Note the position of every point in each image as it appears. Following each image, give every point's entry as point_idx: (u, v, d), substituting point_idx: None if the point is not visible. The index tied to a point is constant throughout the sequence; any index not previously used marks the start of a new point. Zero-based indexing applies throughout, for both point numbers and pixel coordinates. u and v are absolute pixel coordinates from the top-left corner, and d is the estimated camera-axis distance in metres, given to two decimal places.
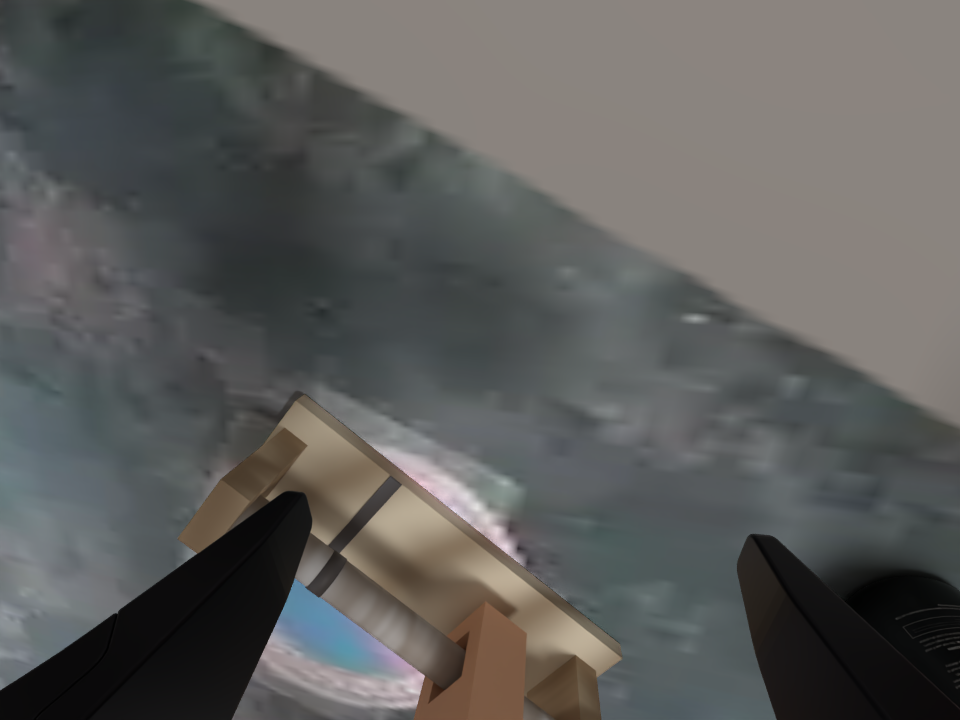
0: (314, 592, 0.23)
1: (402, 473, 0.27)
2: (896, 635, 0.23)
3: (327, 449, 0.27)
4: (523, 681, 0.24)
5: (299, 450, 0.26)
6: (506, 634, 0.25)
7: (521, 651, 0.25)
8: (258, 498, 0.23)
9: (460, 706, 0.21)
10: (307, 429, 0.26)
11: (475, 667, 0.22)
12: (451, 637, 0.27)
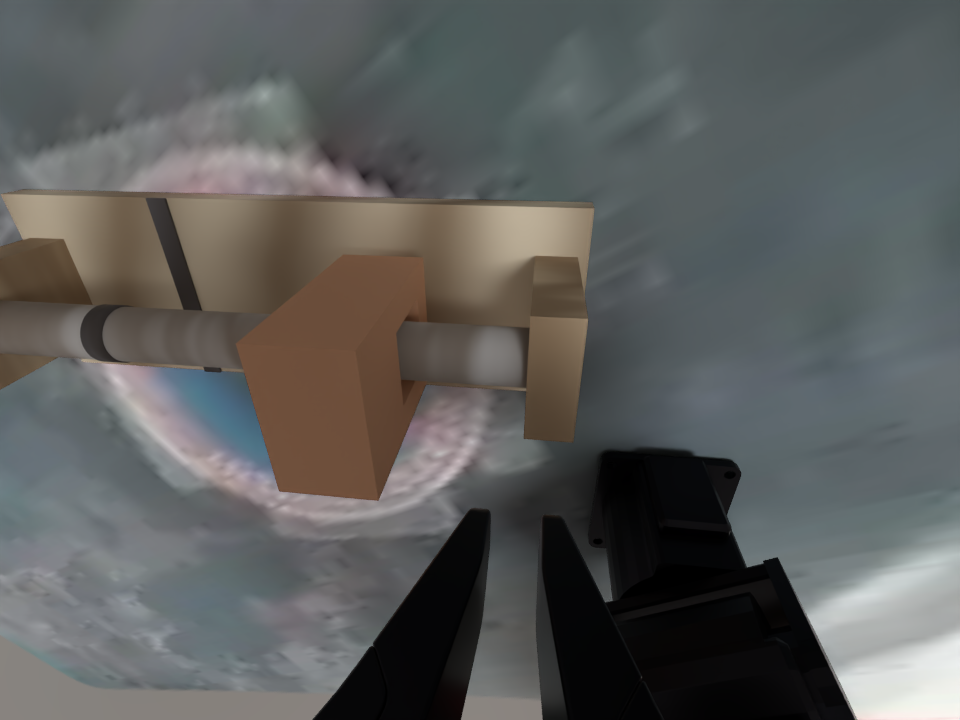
0: (101, 356, 0.17)
1: (174, 193, 0.20)
2: None
3: (78, 225, 0.20)
4: (398, 287, 0.15)
5: (45, 244, 0.20)
6: (376, 265, 0.16)
7: (404, 269, 0.16)
8: None
9: None
10: (43, 219, 0.20)
11: (291, 297, 0.14)
12: None
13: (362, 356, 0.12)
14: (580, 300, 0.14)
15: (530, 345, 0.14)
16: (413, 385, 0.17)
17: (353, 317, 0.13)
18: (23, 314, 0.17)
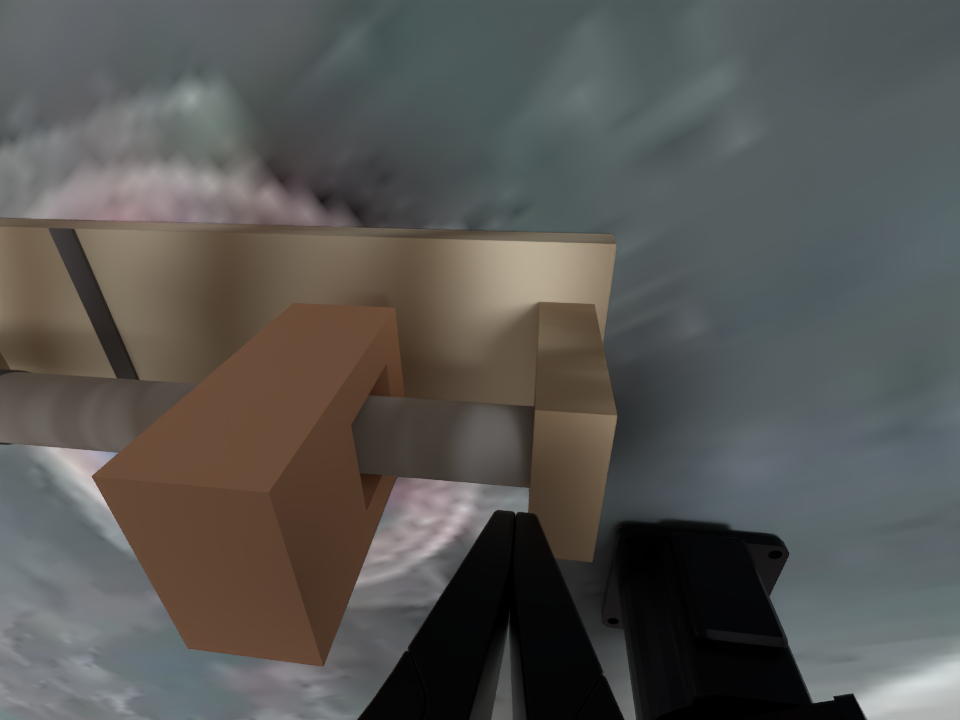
0: None
1: (88, 221, 0.16)
2: None
3: None
4: (355, 360, 0.11)
5: None
6: (332, 321, 0.13)
7: (368, 328, 0.12)
8: None
9: None
10: None
11: (204, 379, 0.10)
12: None
13: (284, 491, 0.08)
14: (603, 378, 0.10)
15: (535, 446, 0.10)
16: (382, 475, 0.13)
17: (281, 419, 0.09)
18: None
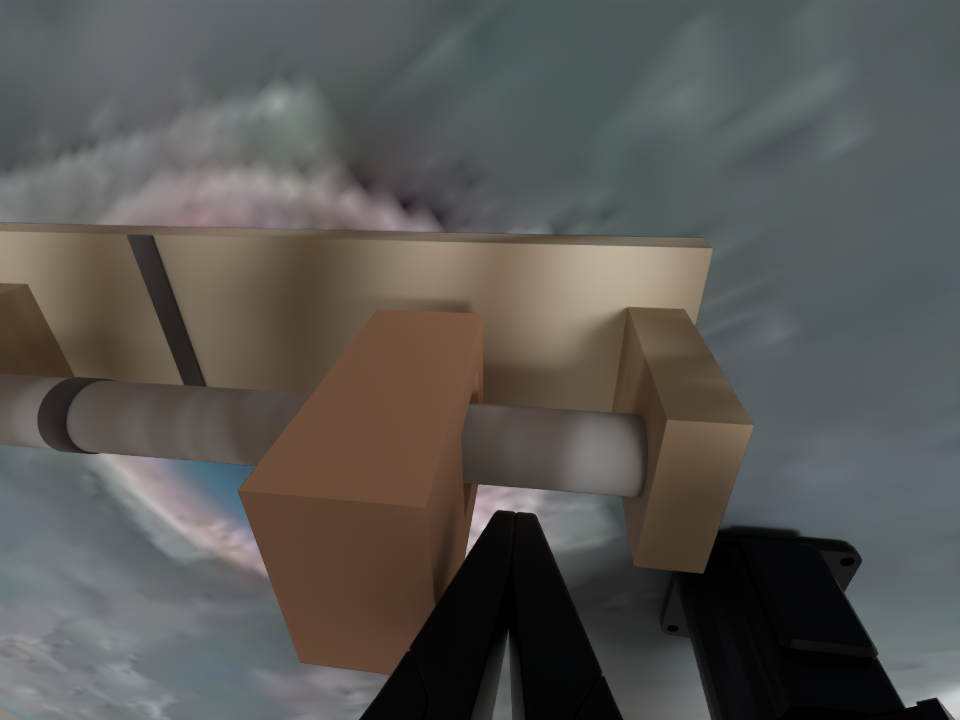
0: (67, 448, 0.13)
1: (163, 227, 0.16)
2: None
3: (44, 268, 0.16)
4: (462, 368, 0.11)
5: (2, 292, 0.16)
6: (423, 328, 0.12)
7: (463, 335, 0.12)
8: None
9: None
10: (1, 260, 0.16)
11: (316, 389, 0.10)
12: None
13: (431, 506, 0.08)
14: (724, 386, 0.10)
15: (661, 456, 0.10)
16: None
17: (409, 430, 0.09)
18: None
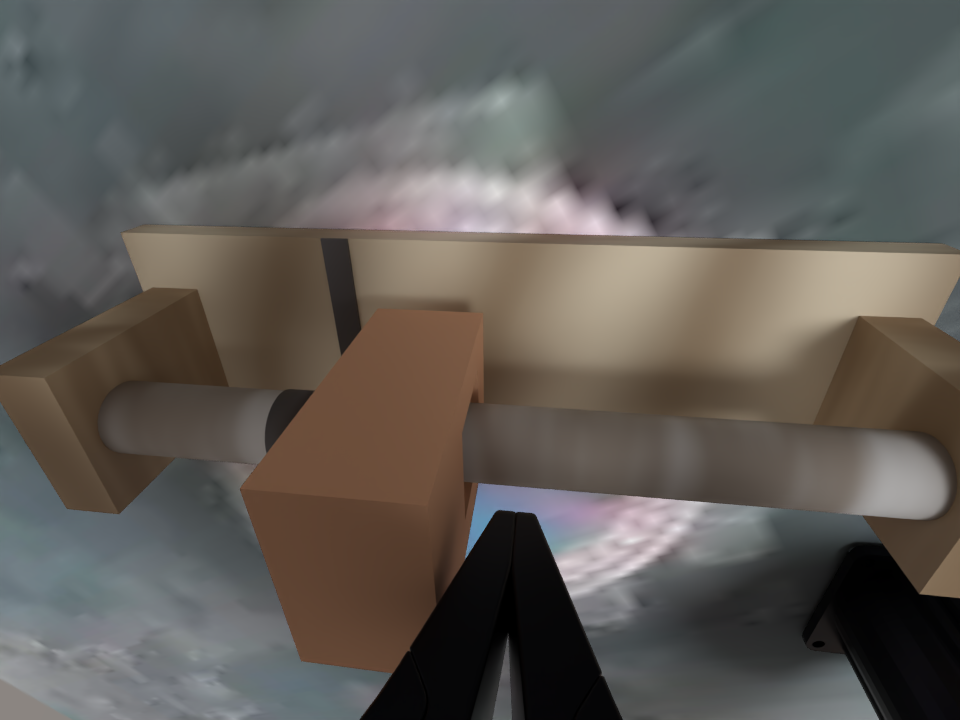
0: None
1: (348, 230, 0.15)
2: None
3: (219, 273, 0.15)
4: (463, 367, 0.11)
5: (178, 298, 0.15)
6: (424, 326, 0.12)
7: (464, 334, 0.12)
8: (122, 384, 0.13)
9: None
10: (173, 264, 0.15)
11: (317, 388, 0.10)
12: None
13: (433, 503, 0.08)
14: None
15: None
16: None
17: (411, 428, 0.09)
18: (179, 408, 0.12)
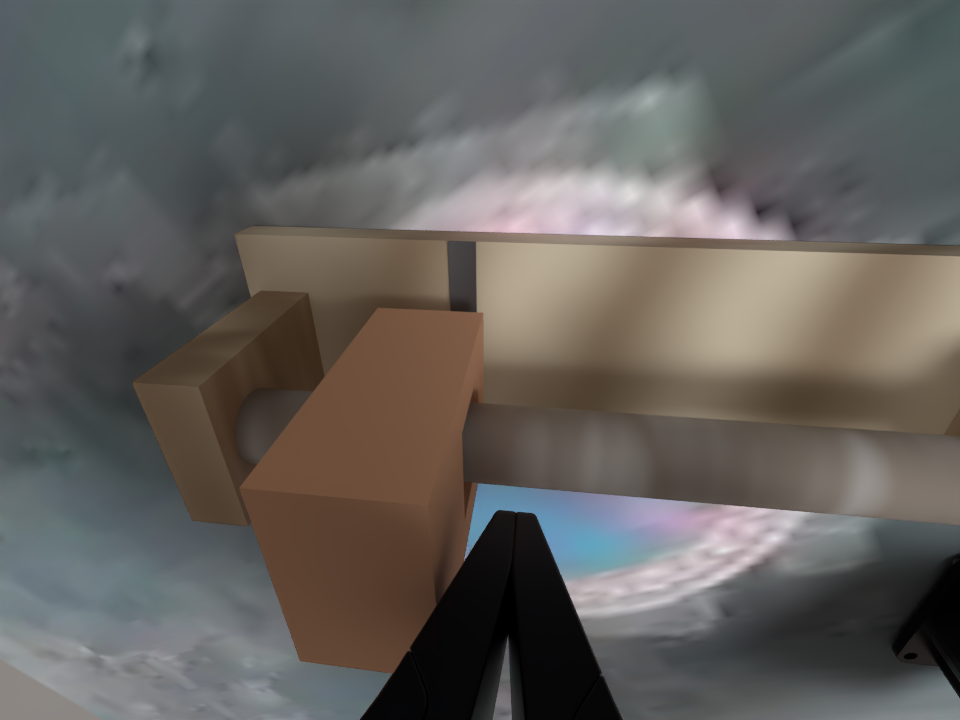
0: None
1: (470, 233, 0.14)
2: None
3: (334, 276, 0.15)
4: (463, 367, 0.11)
5: (293, 301, 0.14)
6: (424, 326, 0.12)
7: (464, 334, 0.12)
8: (254, 391, 0.12)
9: None
10: (286, 267, 0.15)
11: (317, 387, 0.10)
12: None
13: (434, 504, 0.08)
14: None
15: None
16: None
17: (411, 429, 0.09)
18: None
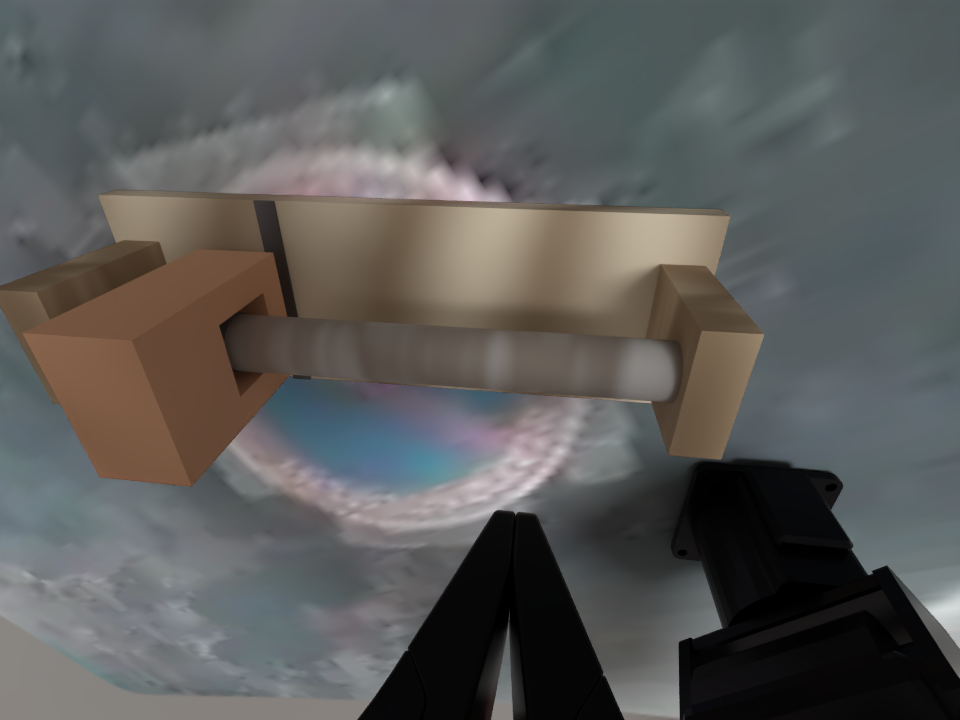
0: None
1: (278, 195, 0.19)
2: None
3: (176, 228, 0.19)
4: (224, 280, 0.15)
5: (143, 247, 0.19)
6: (220, 259, 0.17)
7: (245, 264, 0.17)
8: None
9: None
10: (140, 221, 0.19)
11: (113, 290, 0.14)
12: None
13: (148, 346, 0.12)
14: (741, 313, 0.14)
15: (695, 360, 0.13)
16: (260, 377, 0.17)
17: (156, 309, 0.13)
18: None
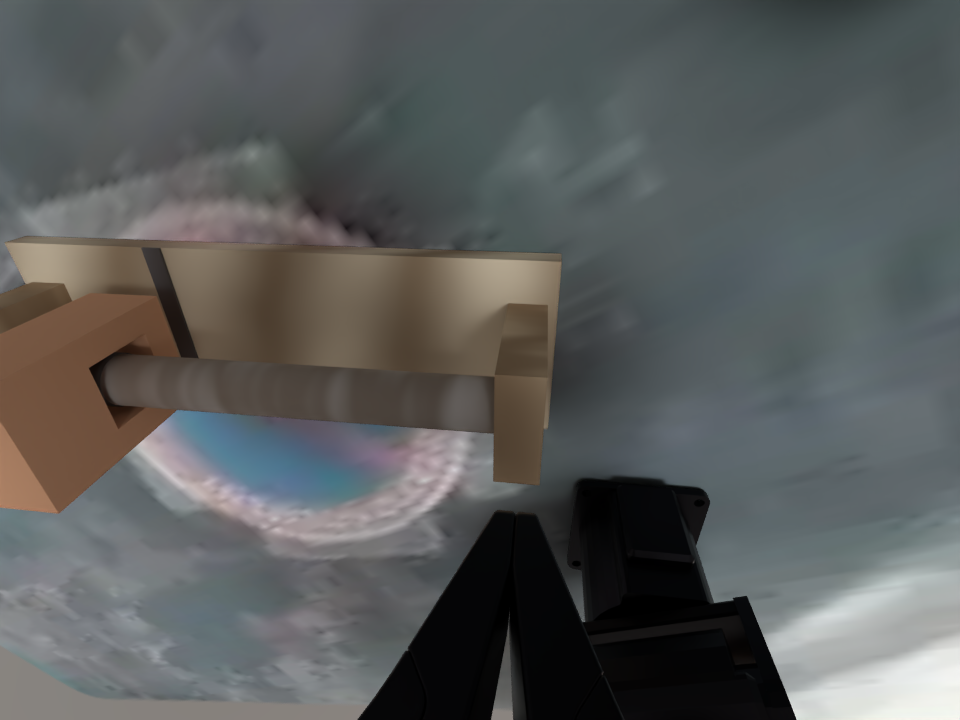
0: None
1: (168, 241, 0.21)
2: None
3: (77, 271, 0.21)
4: (95, 327, 0.17)
5: (46, 289, 0.21)
6: (104, 304, 0.19)
7: (123, 309, 0.18)
8: None
9: None
10: (44, 265, 0.21)
11: None
12: None
13: (0, 394, 0.14)
14: (543, 355, 0.16)
15: (495, 399, 0.15)
16: (144, 409, 0.19)
17: (19, 358, 0.15)
18: None
